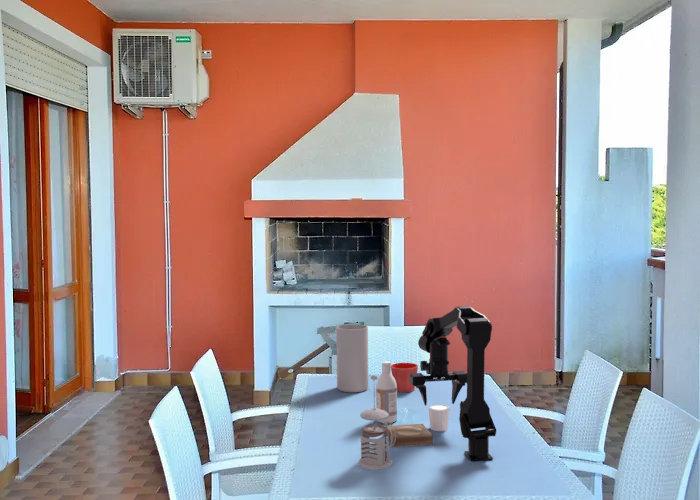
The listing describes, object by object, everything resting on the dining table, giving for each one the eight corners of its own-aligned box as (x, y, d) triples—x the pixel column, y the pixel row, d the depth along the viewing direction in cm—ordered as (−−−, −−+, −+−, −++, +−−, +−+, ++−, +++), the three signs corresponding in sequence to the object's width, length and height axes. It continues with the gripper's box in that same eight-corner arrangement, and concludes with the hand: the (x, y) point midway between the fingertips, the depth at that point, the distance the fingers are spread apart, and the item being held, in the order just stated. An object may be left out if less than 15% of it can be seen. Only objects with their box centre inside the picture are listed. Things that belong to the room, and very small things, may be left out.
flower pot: (386, 388, 264) (385, 364, 264) (409, 384, 269) (409, 361, 268) (398, 394, 255) (398, 369, 254) (423, 391, 259) (423, 366, 259)
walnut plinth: (433, 444, 200) (433, 435, 199) (394, 447, 198) (394, 438, 198) (422, 431, 211) (422, 423, 211) (386, 433, 210) (386, 425, 209)
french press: (371, 453, 193) (370, 369, 191) (404, 462, 185) (403, 374, 184) (350, 463, 185) (349, 375, 184) (383, 473, 178) (382, 382, 176)
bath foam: (373, 418, 225) (373, 360, 224) (392, 416, 227) (392, 359, 226) (380, 424, 219) (380, 365, 217) (400, 422, 221) (399, 363, 219)
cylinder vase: (332, 391, 259) (332, 328, 258) (342, 383, 271) (341, 323, 270) (363, 394, 256) (362, 330, 254) (371, 385, 268) (371, 324, 266)
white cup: (449, 432, 210) (449, 410, 210) (427, 431, 212) (427, 409, 211) (450, 425, 217) (450, 404, 217) (429, 424, 218) (429, 403, 218)
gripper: (458, 350, 222) (459, 396, 223) (404, 352, 219) (405, 399, 220) (469, 357, 211) (470, 405, 212) (413, 360, 208) (413, 408, 209)
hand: (439, 404), depth 214 cm, fingers open, 9 cm apart
